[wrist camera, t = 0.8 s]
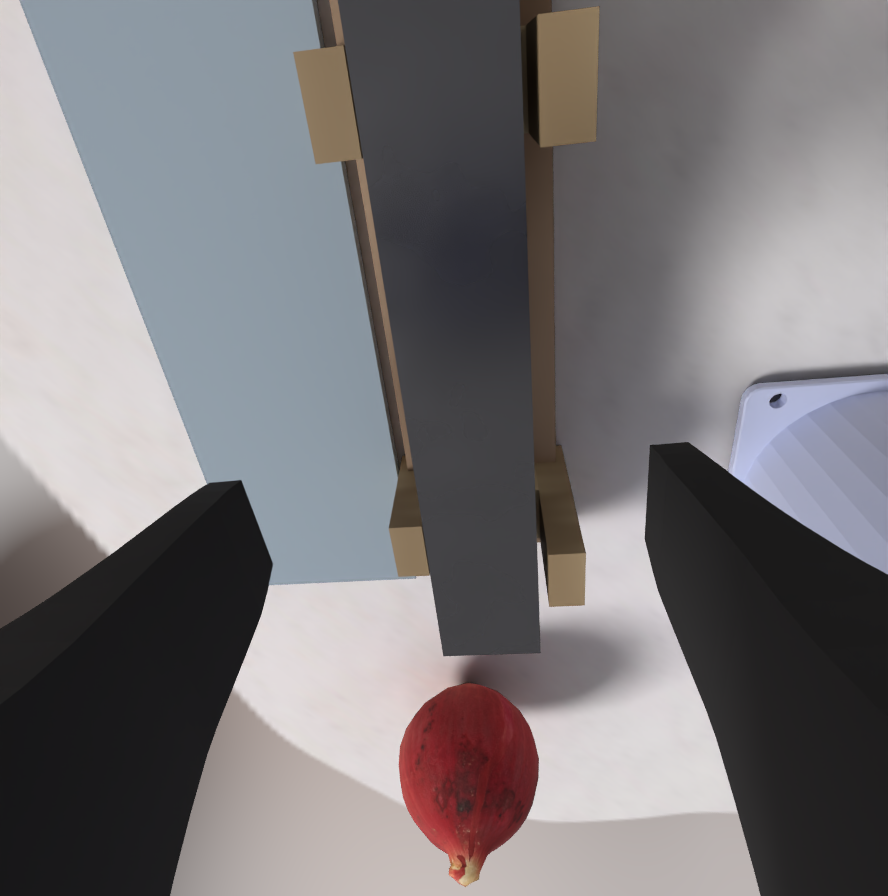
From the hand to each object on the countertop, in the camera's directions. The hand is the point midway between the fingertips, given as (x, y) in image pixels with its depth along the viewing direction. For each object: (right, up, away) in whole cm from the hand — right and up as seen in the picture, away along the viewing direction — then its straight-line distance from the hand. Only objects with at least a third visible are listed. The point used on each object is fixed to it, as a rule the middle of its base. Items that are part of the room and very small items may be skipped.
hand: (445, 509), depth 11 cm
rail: (+1, +4, +6) cm, 7 cm away
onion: (+1, -10, +18) cm, 20 cm away
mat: (-6, +5, +8) cm, 11 cm away
